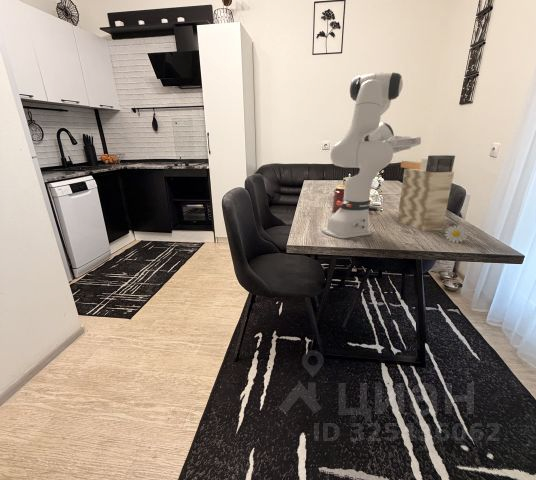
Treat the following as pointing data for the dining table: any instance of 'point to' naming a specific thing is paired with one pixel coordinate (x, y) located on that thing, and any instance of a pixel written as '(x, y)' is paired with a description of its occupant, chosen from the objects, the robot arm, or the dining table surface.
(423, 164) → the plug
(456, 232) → the decorative flower
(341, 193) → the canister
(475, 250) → the dining table surface
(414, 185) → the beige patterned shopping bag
